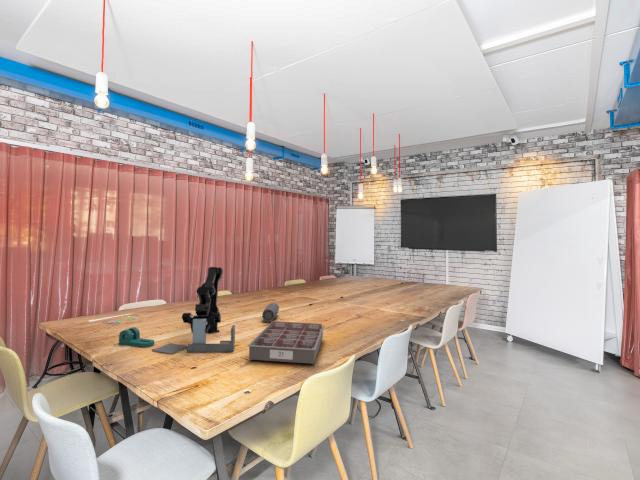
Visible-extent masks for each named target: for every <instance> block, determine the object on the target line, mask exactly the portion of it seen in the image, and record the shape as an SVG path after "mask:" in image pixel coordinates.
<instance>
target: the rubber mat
mask: <svg viewBox="0 0 640 480" xmlns="http://www.w3.org/2000/svg"><path fill="white" fill-rule="evenodd" d="M186 349H187V345H186V344H185V345H184V344H178V343H173V342H169V343H167V344H165V345H162V346H159V347H157V348H155V349H152V350H151V352H153V353H159V354H164V353H165V354H166V355H170V354H171V355H174V354H176V353H178V352H180V351H182V350H186Z"/></svg>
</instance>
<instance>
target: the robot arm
mask: <svg viewBox="0 0 640 480" xmlns="http://www.w3.org/2000/svg"><path fill="white" fill-rule="evenodd" d="M223 275H224V269H223V268H222V267H217V266H209V267H208V268H207V276H206V280H205V281H204V282H203V283H202V284H201V286H199V287H198V288H197V289H196V294H197V298H198V301H199V302H198V304H195V308H194V311H195V315H193V314H192V313H191V312H183V313H182V315H181V319H182V321H183V324H184V323H185V324H189V325H190V329H191V331H190V332H191V334H193V319H206V328H205V333H206V334H207V333H208V334H213V333H219V332H220V330H219V329H218V323H219V324H220V323H221V322H222V316H221V312H220V308H219V306H218V296H219V295H218V294H219V284H220V283H219V282H220V281H221V279H222V277H223Z"/></svg>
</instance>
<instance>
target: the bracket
mask: <svg viewBox="0 0 640 480" xmlns="http://www.w3.org/2000/svg"><path fill="white" fill-rule="evenodd" d="M140 335H141V333H140V329H138V327H135V326H133V327H130V328H129V327H128V328H127V329H126V328H125V329H123V330H121V331H120V332H119V335H118V345H120V346H126V347H127V346H129V347H136V348H142V349H145V348H146V349H147V348H152V347H154V346H155V340H154V339H151V338H150V339H148V338H143V337H142V338H141V337H140Z"/></svg>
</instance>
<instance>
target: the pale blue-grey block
mask: <svg viewBox="0 0 640 480" xmlns="http://www.w3.org/2000/svg"><path fill="white" fill-rule="evenodd" d="M206 325H207V322H206V319H193V333H192V343H191V344H207V332H206V333H205V328H206Z"/></svg>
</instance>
